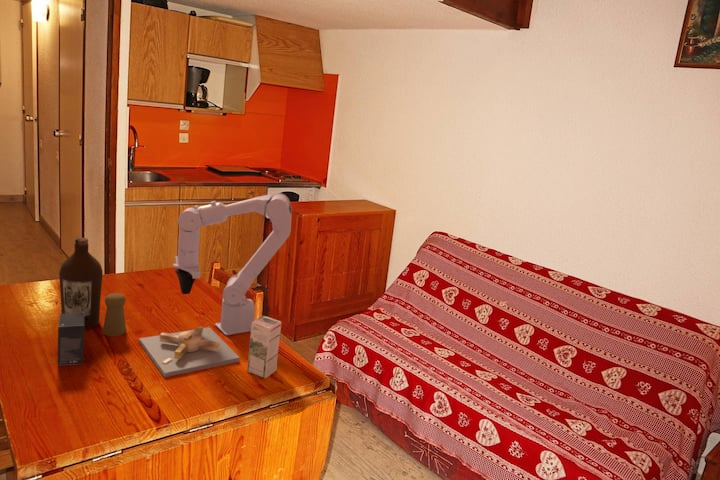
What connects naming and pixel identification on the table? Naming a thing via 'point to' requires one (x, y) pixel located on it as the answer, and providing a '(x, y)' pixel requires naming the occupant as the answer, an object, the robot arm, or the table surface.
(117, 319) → the cork
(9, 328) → the table surface
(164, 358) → the stand board
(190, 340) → the capstan
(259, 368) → the syrup box
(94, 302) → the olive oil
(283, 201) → the robot arm
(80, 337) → the box
